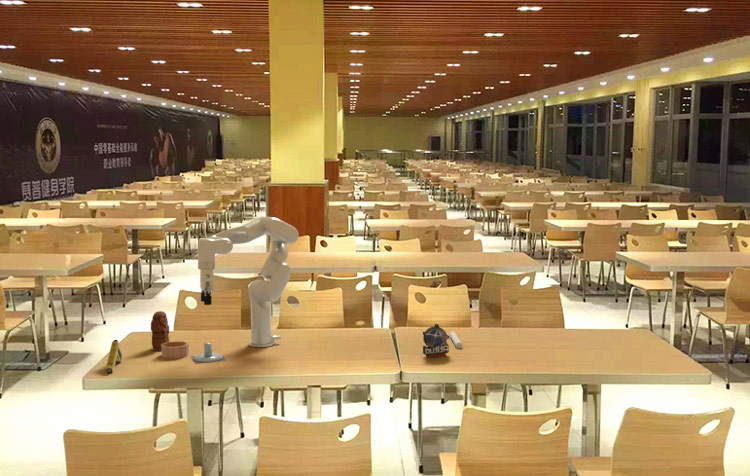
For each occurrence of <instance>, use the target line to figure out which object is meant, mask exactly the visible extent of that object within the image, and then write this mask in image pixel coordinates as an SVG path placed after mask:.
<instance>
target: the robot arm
mask: <svg viewBox="0 0 750 476" xmlns="http://www.w3.org/2000/svg"><path fill="white" fill-rule="evenodd" d="M299 234H300V233H299V231H298V229H297V228H296V227H295V226H293V225H291V224H290V223H287V222H286V221H283V220H281V219H279V218H277V217H272V216H260V217H257V218H256V219H253V220H250V221H249V222H247V223H245V224H242V225H240V226H236V227H234V228H233V227H232V228H229V229H226V230H223V231H220V232H218V233H214V234H213V235H211V236H209V237H207V238H203V237H202V238H200V239H198V243H197V269H198V270H200V272H199V273H200V276H199V278H200V280H199V283H200V285H199V287H200V289H201V290H200V302H202V303H203V305H204V306H211V305H212V292H214V291H215V288H214V287H215V284H214V270H215V269H216V255H217V254H218V255H228V254H229V253H231V252H232V251H233V247H234V245H241V244H242V245H243V244H248V243H250V242H253V241H254V240H256V239H259V238H260V237H263V236H265V235H268V236H269V239H270V242H271V250H270V253H269V255H268V256H267V258H266V260H265V262H264V264H263V265H262V268H261V270H260V275H261V276H262V277H263V279H255V280H253V281H251V282H250V283H249V286H248V291H247V292H248V297H249V301H250V326H251V327H250V330H251V331H250V333H251V334H250V335H251V336H250V337H251V338H250V339H251V340H250V341H248V343H247V344H248V346H250V347H252V348H268V347H271V346H272V347H273V346H274V345H275V341H276V340H277V341H279V340H282V336H281V335H277V334H276V335H275V334H274V335H273V334H272V317H271V316H272V310H271V304H270V303H273V302H276V301H278V300H279V299H280V297H281V296H282V294H283V293H284V290H285V289H286V286H287V284H288V282H289V280H290V279H291V275H292V271H291V267H290V265H289V264H288V263H286V261H287V258H288V257H289V249H288V244H289V245H290V244H294V243H296V242H297V241H298V239H299V236H300V235H299ZM264 279H265V280H264Z"/></svg>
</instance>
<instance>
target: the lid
mask: <svg viewBox="0 0 750 476" xmlns="http://www.w3.org/2000/svg"><path fill="white" fill-rule="evenodd" d="M203 352H204V353H199V354H195V355H193V356H194V361H197V362H210V363H215V362H214V361H219V360H221V359H223V357H224V355H223V354H222V353H221V354H220V353H218V352H213V343H212V342H209V341H208V342H204V343H203ZM194 361H193V362H194Z"/></svg>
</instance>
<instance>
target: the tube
mask: <svg viewBox="0 0 750 476" xmlns="http://www.w3.org/2000/svg"><path fill="white" fill-rule="evenodd" d="M448 336H449V338H450V339H451V340H452V343H453V344H454V346H455V347H456V349H461V348H463V343H462V342H461V340H460V339H459V337H458V335H457V334H456V332H455V331H454V330H453V331H450V332H449V335H448Z"/></svg>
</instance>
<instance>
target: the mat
mask: <svg viewBox="0 0 750 476" xmlns="http://www.w3.org/2000/svg"><path fill="white" fill-rule="evenodd" d="M219 354H222V353H219ZM194 356H195V355H193V356H192V355H190V356H189V357H190V359H191V360H192V361H193V362H194V364H195V365H197V364H207V363H210V364H211V362H197V361H194ZM216 362H217V363H218V362H220V363H221V362H228V361H227V359H226V357H224V356H223V359H221V360H219V361H214V362H213V363H216Z"/></svg>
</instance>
